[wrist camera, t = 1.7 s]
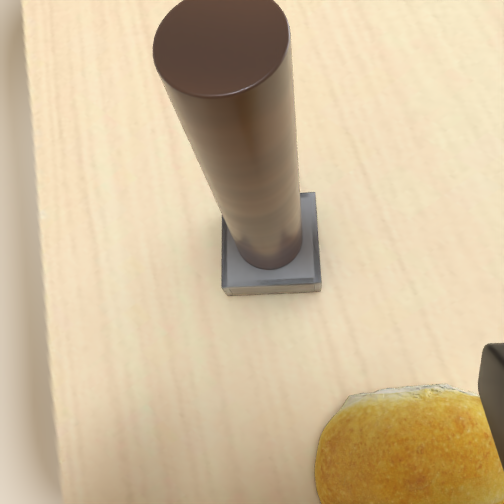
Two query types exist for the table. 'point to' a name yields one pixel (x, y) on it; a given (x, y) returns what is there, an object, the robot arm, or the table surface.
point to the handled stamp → (244, 137)
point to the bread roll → (409, 449)
